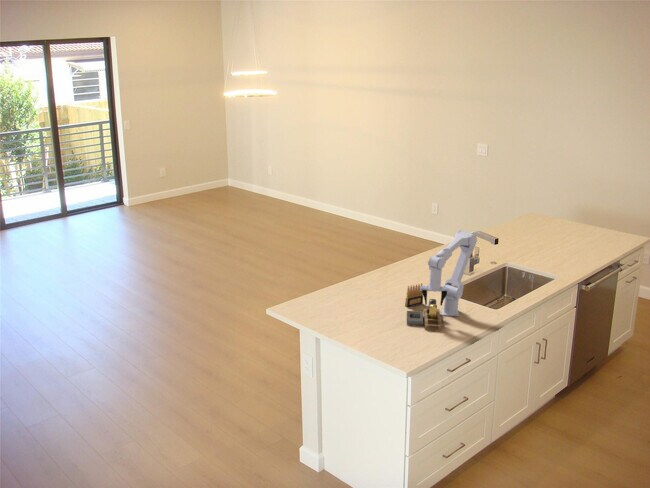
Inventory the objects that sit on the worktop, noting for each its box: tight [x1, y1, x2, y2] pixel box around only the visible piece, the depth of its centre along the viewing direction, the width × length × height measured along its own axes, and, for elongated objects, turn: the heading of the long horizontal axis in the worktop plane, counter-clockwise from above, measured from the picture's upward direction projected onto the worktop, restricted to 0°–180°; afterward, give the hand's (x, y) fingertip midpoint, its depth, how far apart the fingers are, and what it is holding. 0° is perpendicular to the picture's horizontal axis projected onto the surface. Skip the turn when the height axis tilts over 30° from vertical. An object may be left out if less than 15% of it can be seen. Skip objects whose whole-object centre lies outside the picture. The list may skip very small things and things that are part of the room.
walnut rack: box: [423, 307, 442, 332], centre depth 366 cm, size 21×8×2 cm, turn 174°
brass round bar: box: [429, 303, 438, 319], centre depth 365 cm, size 4×4×9 cm
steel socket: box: [406, 310, 424, 327], centre depth 367 cm, size 12×8×2 cm, turn 174°
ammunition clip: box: [404, 283, 424, 308], centre depth 384 cm, size 11×2×12 cm, turn 121°
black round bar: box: [428, 298, 437, 314], centre depth 371 cm, size 4×4×9 cm
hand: (433, 304), depth 363 cm, fingers open, 7 cm apart
